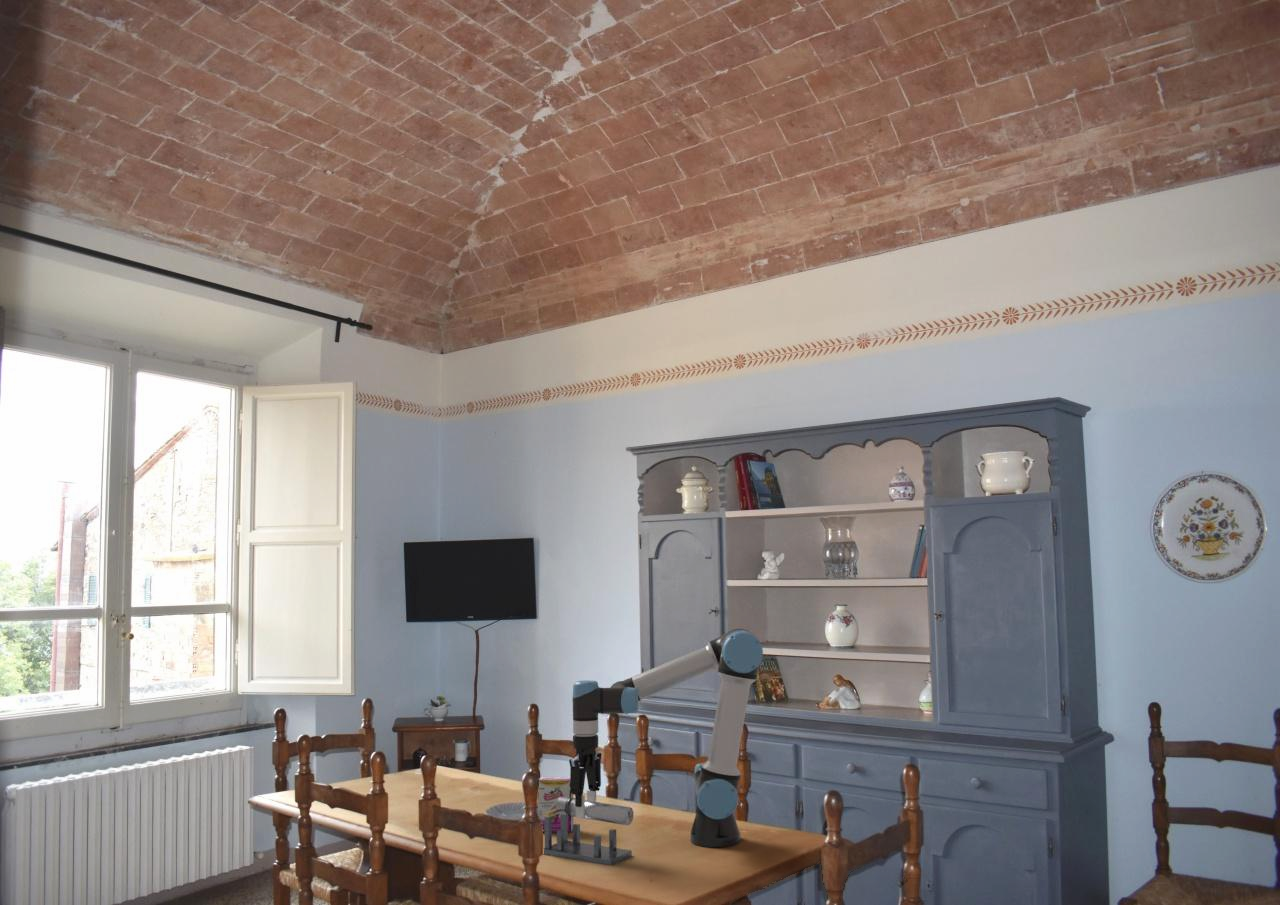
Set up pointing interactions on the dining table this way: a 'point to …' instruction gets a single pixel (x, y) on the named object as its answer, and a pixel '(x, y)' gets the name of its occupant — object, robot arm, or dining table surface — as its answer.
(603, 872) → the dining table surface
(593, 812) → the tube
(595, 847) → the collar board
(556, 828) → the candy bar box
